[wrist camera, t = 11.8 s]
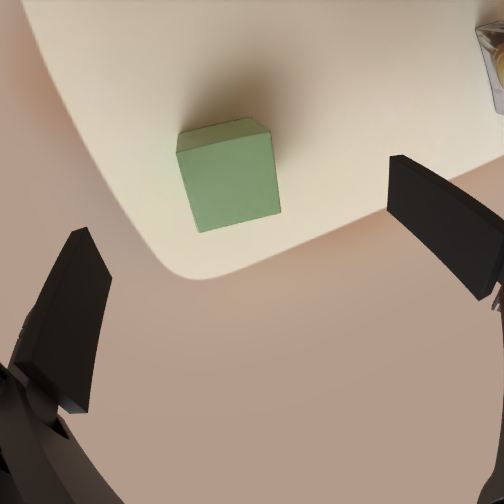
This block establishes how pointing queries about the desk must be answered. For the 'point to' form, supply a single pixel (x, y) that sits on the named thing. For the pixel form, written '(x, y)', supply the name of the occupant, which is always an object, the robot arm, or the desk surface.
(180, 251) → the desk surface
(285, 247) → the desk surface
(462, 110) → the desk surface
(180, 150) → the block
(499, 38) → the coffee box
